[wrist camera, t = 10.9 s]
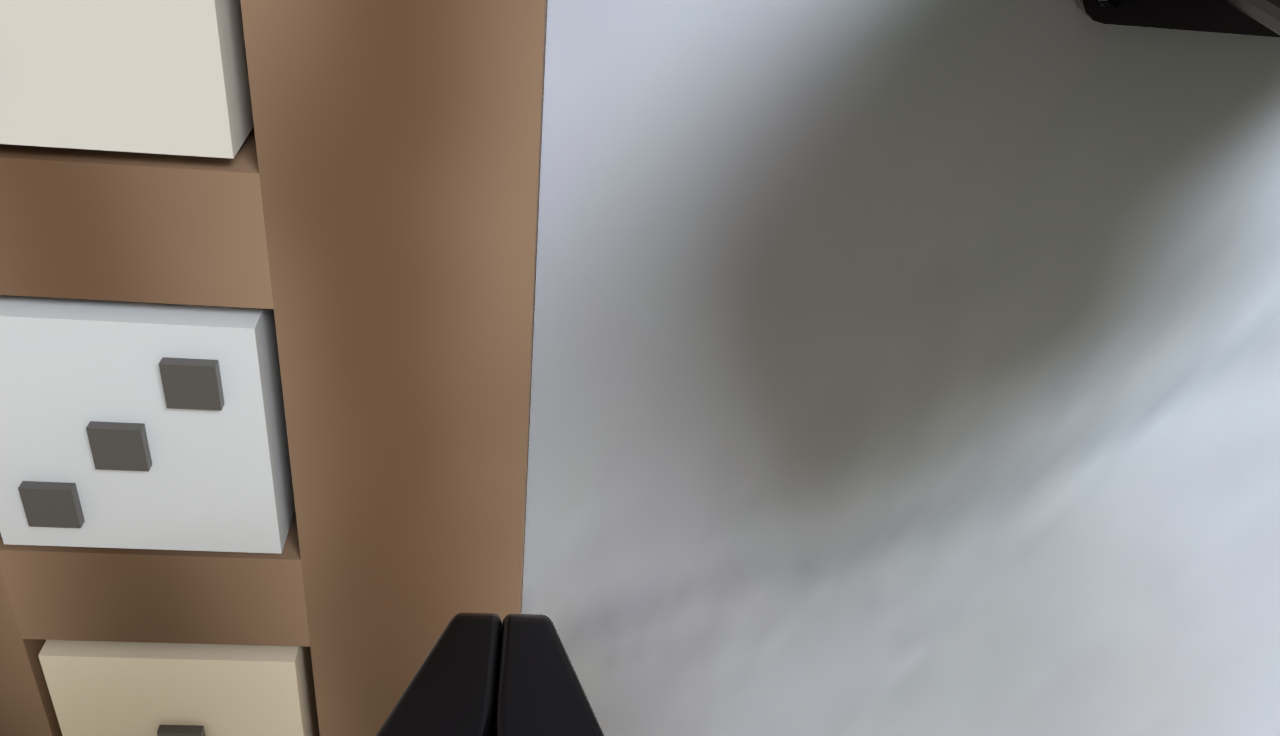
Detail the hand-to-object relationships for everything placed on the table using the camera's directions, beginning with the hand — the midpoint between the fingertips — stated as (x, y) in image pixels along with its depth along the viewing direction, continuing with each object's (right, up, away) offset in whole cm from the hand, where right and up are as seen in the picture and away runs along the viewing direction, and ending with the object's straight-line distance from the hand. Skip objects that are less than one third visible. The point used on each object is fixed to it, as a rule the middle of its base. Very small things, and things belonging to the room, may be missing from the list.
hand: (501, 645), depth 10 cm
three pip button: (-8, +3, +12) cm, 15 cm away
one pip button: (-9, -4, +16) cm, 19 cm away
